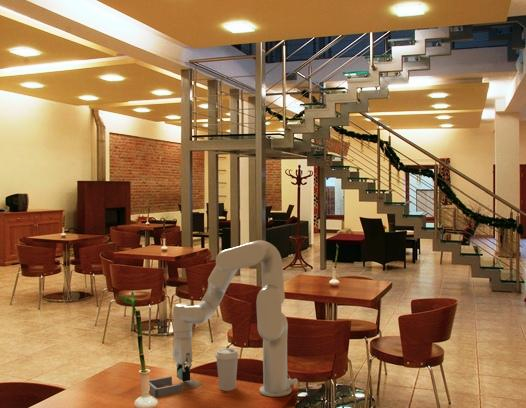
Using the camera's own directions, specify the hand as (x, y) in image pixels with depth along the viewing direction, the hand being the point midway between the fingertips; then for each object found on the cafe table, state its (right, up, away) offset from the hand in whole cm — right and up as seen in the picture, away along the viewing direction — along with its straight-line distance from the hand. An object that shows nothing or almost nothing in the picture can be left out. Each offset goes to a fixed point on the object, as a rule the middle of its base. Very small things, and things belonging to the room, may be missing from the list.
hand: (183, 378), depth 221 cm
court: (-7, -3, -4) cm, 9 cm away
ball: (0, +2, 0) cm, 2 cm away
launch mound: (+3, -15, +1) cm, 15 cm away
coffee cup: (+18, -3, -3) cm, 19 cm away
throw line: (-5, -3, -3) cm, 7 cm away
